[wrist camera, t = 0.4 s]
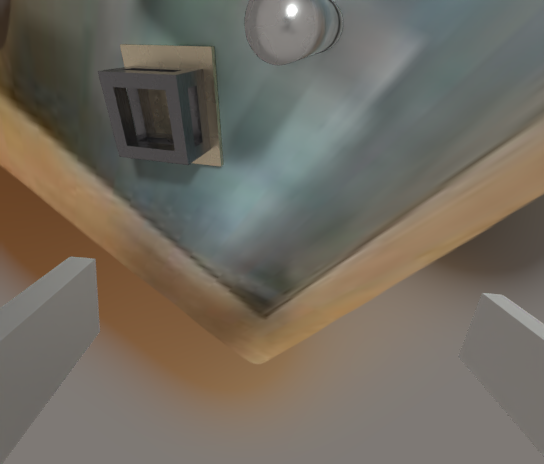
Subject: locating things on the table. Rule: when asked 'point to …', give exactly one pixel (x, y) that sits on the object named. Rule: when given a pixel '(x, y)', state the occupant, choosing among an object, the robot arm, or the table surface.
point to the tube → (291, 28)
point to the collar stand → (165, 104)
